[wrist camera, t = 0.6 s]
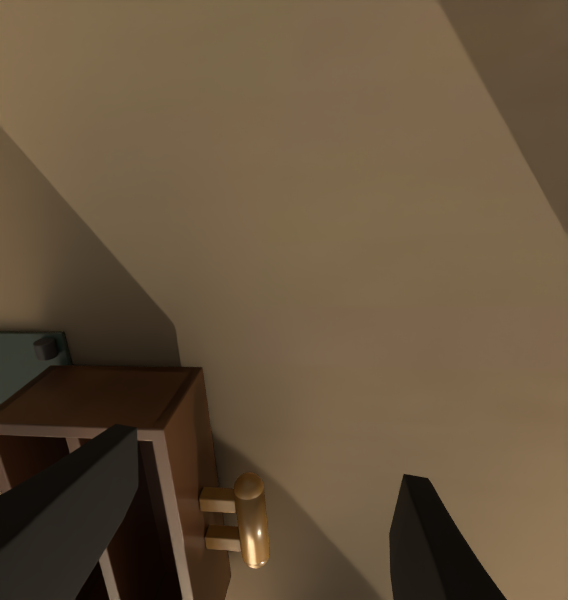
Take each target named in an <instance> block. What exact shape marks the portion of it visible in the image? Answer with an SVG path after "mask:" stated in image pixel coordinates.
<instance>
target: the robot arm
mask: <svg viewBox="0 0 568 600" xmlns="http://www.w3.org/2000/svg"><path fill="white" fill-rule="evenodd" d="M138 486H139V484H138V447H137V427H133V426H127V425H121V424H114V425H113V426H111V427H110V428H108V429H106V430H105V431H103V432H102V433H100V434H99V435H97V436H96V437H94V438H93V439H91V440H90V441H88V442H87V443H85V444H84V445H82V446H81V447H79V448H78V449H76V450H74V451H73V452H71V453H70V454H68V455H67V456H65V457H63V458H62V459H60V460H59V461H57V462H56V463H54V464H53V465H51V466H49V467H48V468H46V469H44V470H43V471H41V472H39V473H38V474H36V475H34V476H32V477H31V478H29V479H27V480H26V481H24V482H22V483H20V484H19V485H17V486H15V487H14V488H12V489H10V490H8V491H7V492H5V493H3V494H1V495H0V600H74V599H75V598H76V596H77V595H78V593H79V591H80V590H81V588H82V586H83V585H84V583H85V582H86V580H87V578H88V577H89V575H90V573H91V572H92V570H93V569H94V567H95V565H96V564H97V562H98V561H99V559H100V557H101V556H102V554H103V552H104V551H105V549H106V548H107V546H108V544H109V543H110V541H111V539H112V538H113V536H114V534H115V533H116V531H117V529H118V528H119V526H120V524H121V523H122V521H123V519H124V517H125V515H126V512H127V510H128V508H129V506H130V504H131V502H132V500H133V497H134V495H135V493H136V491H137V488H138ZM389 541H390V575H391V583H392V591H393V599H394V600H507V599H506V598H505V597H504V595H503V594H502V593H501V591H500V590H499V589H498V587H497V586H496V584H495V583H494V582H493V580H492V579H491V577H490V576H489V575H488V573H487V572H486V570H485V569H484V568H483V566H482V565H481V563H480V562H479V560H478V559H477V557H476V556H475V554H474V553H473V551H472V550H471V548H470V547H469V545H468V543H467V542H466V540H465V539H464V537H463V536H462V534H461V533H460V531H459V529H458V528H457V526H456V525H455V523H454V521H453V520H452V518H451V516H450V515H449V513H448V511H447V510H446V508H445V506H444V504H443V503H442V501H441V499H440V497H439V496H438V494H437V492H436V490H435V489H434V487H433V485H432V483H431V482H430V480H429V479H428V478H424V477H419V476H413V475H407V474H404V475H403V479H402V483H401V487H400V491H399V495H398V500H397V504H396V508H395V512H394V516H393V520H392V524H391V528H390V533H389Z"/></svg>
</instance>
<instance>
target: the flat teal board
mask: <svg viewBox="0 0 568 600" xmlns="http://www.w3.org/2000/svg"><path fill="white" fill-rule="evenodd" d="M50 365H71V366H72V363H71V358H70V354H69V350H68V346H67V342H66V338H65V334H64V332H0V404H2V403H3V402H4V401H5V400H7V399H8V398H9V397H11V396H12V395H13V394H14V393H16V392H17V391H18V390H19V389H21V388H22V387H23V386H25V385H26V384H27V383H28V382H30V381H31V380H32V379H33V378H35V377H36V376H37V375H39V374H40V373H41V372H42V371H44V370H45V369H46V368H47V367H49V366H50Z"/></svg>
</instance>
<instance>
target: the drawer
mask: <svg viewBox="0 0 568 600" xmlns="http://www.w3.org/2000/svg"><path fill="white" fill-rule="evenodd" d="M114 424H121V425H127V426H133V427H137V447H138V484H139V486H138V488H137V491H136V493H135V495H134V497H133V500H132V502H131V504H130V506H129V508H128V510H127V512H126V515H125V517H124V519H123V521H122V523H121V524H120V526H119V528H118V529H117V531H116V533H115V534H114V536H113V538H112V539H111V541H110V543H109V544H108V546H107V548H106V549H105V551H104V552H103V554H102V556H101V557H100V559H99V561H98V562H97V564H96V565H95V567H94V569H93V570H92V572H91V573H90V575H89V577H88V578H87V580H86V582H85V583H84V585H83V586H82V588H81V590H80V591H79V593H78V595H77V596H76V598H75V599H74V600H225V596H226V593H227V589H228V585H229V582H230V578H231V571H230V564H229V557H228V551H241V552H242V558H243V560H244V562H245V564H246V565H247V566H249V567H251V568H260V567H262V566H263V565H265V564H266V562H267V561H268V559H269V555H270V547H269V537H268V526H267V516H266V505H265V495H264V485H263V482H262V480H261V478H260V477H259V476H258V475H257V474H255V473H251V472H248V473H244V474H242V475H240V476H239V477H238V478H237V480H236V482H235V484H234V489H232V488H219V484H218V477H217V470H216V463H215V455H214V448H213V441H212V434H211V426H210V419H209V412H208V405H207V397H206V390H205V383H204V376H203V368H202V367H138V366H71V365H50V366H49V367H47V368H46V369H45V370H44V371H42V372H41V373H40V374H39V375H37V376H36V377H35V378H33V379H32V380H31V381H30V382H28V383H27V384H26V385H25V386H23V387H22V388H21V389H19V390H18V391H17V392H16V393H14V394H13V395H12V396H11V397H9V398H8V399H7V400H5V401H4V402H3V403H2V404H0V491H1V494H3V493H5V492H7V491H8V490H10V489H12V488H14V487H15V486H17V485H19V484H20V483H22V482H24V481H26V480H27V479H29V478H31V477H32V476H34V475H36V474H38V473H39V472H41V471H43V470H44V469H46V468H48V467H49V466H51V465H53V464H54V463H56V462H57V461H59V460H60V459H62V458H63V457H65V456H67V455H68V454H70V453H71V452H73V451H74V450H76V449H78V448H79V447H81V446H82V445H84V444H85V443H87V442H88V441H90V440H91V439H93V438H94V437H96V436H97V435H99V434H100V433H102V432H103V431H105V430H106V429H108V428H110V427H111V426H113V425H114ZM222 512H224V513H237V520H238V527H237V526H224V521H223V513H222Z"/></svg>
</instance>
